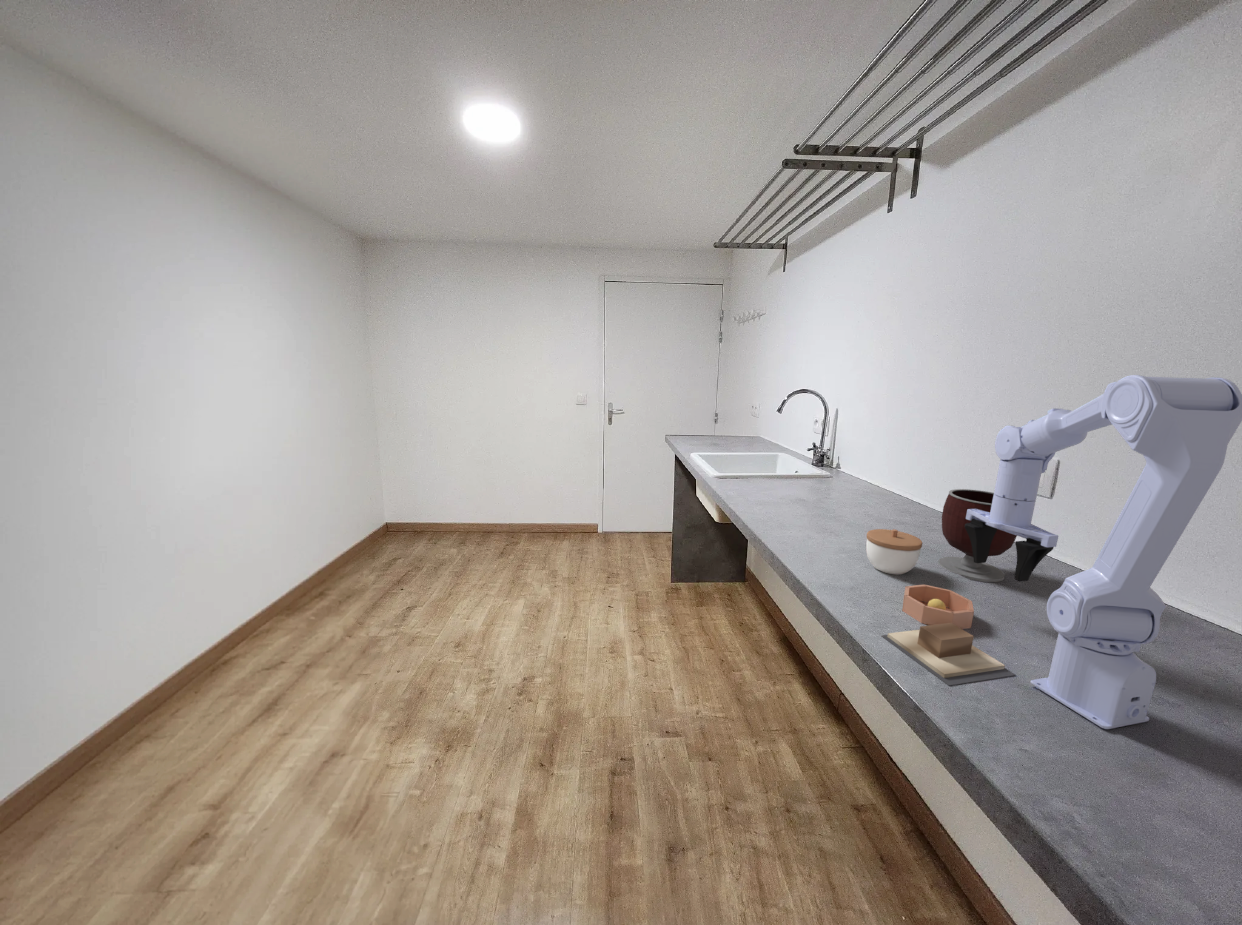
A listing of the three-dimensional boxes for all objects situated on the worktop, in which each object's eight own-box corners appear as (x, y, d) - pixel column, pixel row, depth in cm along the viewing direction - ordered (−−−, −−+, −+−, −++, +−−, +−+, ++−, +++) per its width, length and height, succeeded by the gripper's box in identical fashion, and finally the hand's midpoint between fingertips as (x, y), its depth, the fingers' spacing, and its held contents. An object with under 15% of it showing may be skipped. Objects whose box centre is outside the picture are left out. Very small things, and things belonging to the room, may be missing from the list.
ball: (948, 617, 89) (950, 602, 89) (935, 618, 88) (938, 604, 88) (935, 609, 92) (937, 595, 91) (922, 610, 91) (925, 596, 91)
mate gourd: (925, 567, 112) (939, 481, 108) (944, 553, 121) (958, 473, 117) (1009, 593, 100) (1029, 497, 96) (1024, 574, 110) (1043, 487, 105)
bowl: (984, 628, 87) (988, 609, 86) (935, 634, 84) (938, 615, 83) (934, 599, 96) (937, 583, 96) (889, 604, 94) (891, 587, 93)
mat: (1015, 677, 73) (1015, 674, 73) (948, 688, 70) (949, 685, 70) (940, 630, 85) (940, 628, 85) (881, 638, 82) (881, 635, 82)
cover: (1004, 668, 74) (1008, 647, 73) (944, 677, 71) (948, 655, 71) (941, 630, 84) (945, 610, 84) (887, 636, 82) (890, 616, 81)
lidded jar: (925, 583, 104) (932, 541, 102) (870, 577, 106) (875, 535, 104) (907, 563, 114) (913, 524, 112) (857, 558, 116) (862, 520, 114)
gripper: (958, 486, 91) (945, 556, 94) (1040, 510, 77) (1023, 591, 80) (988, 485, 92) (975, 554, 95) (1074, 508, 79) (1056, 587, 81)
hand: (999, 570), depth 88 cm, fingers open, 7 cm apart
